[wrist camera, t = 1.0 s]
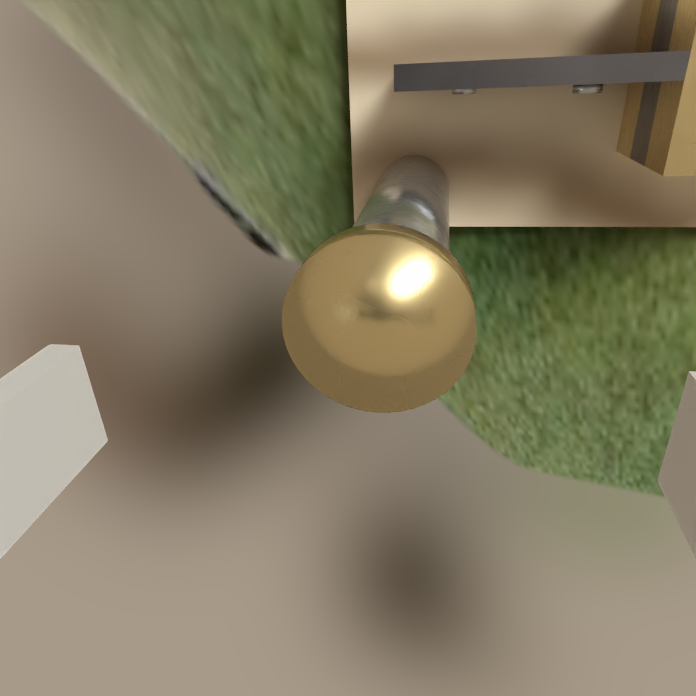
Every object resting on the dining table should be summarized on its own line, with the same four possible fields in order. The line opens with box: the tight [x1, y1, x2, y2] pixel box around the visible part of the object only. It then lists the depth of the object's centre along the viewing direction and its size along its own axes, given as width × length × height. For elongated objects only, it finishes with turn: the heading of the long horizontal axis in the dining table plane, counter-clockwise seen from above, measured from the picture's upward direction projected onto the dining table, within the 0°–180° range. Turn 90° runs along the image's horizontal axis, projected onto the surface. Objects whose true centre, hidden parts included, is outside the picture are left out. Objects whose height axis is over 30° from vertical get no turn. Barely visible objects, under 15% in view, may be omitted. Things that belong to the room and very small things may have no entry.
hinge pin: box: [282, 155, 477, 413], centre depth 23 cm, size 5×5×18 cm
